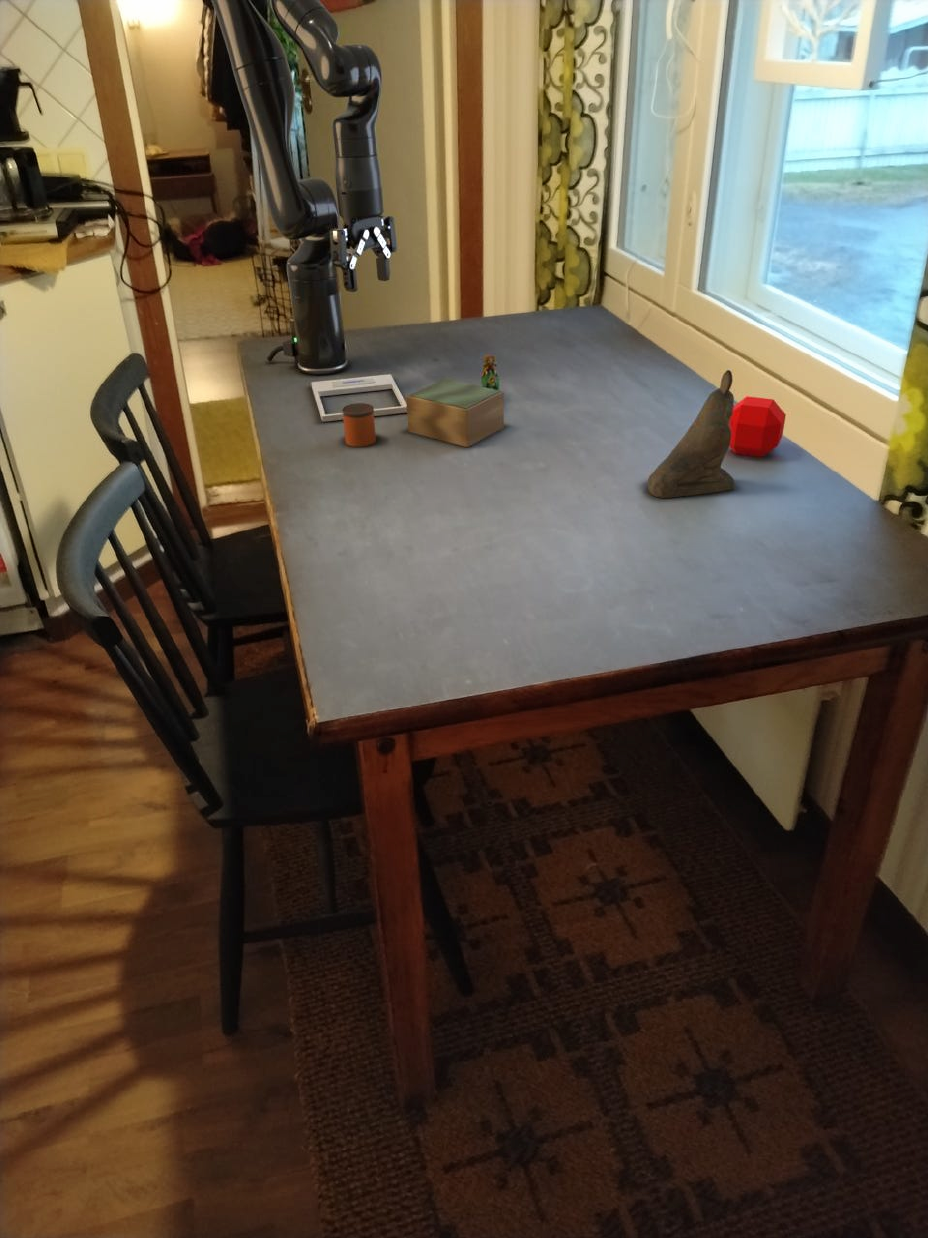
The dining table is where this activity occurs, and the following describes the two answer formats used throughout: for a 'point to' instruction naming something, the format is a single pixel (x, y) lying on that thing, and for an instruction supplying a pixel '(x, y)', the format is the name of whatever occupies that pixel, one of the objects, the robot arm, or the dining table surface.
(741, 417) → the ball
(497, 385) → the figurine
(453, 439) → the riser block
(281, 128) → the robot arm
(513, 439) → the dining table surface
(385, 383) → the photo frame
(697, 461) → the brown carved statuette
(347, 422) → the orange tin
